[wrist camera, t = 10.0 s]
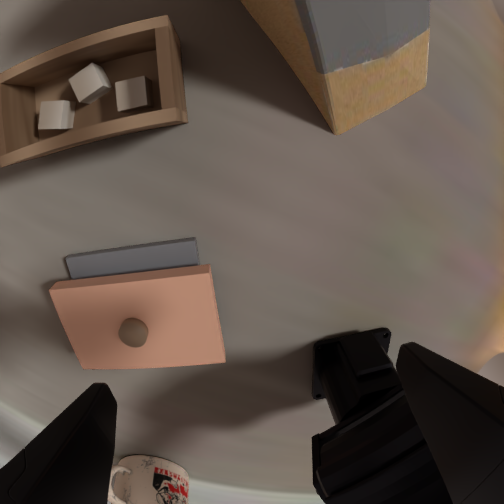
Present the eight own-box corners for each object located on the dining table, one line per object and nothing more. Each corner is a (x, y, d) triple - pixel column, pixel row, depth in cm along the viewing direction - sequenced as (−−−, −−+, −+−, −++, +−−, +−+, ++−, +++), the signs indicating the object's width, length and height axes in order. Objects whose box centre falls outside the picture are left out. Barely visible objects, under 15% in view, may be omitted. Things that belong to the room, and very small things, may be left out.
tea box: (179, 40, 15) (167, 14, 10) (187, 122, 17) (176, 120, 12) (33, 82, 14) (-7, 77, 10) (40, 157, 16) (0, 167, 12)
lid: (210, 258, 19) (208, 278, 17) (224, 343, 22) (225, 369, 19) (61, 276, 19) (44, 295, 16) (90, 352, 21) (80, 375, 19)
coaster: (217, 351, 23) (217, 356, 22) (107, 358, 22) (105, 363, 22) (195, 237, 19) (194, 240, 19) (68, 254, 19) (65, 258, 18)
